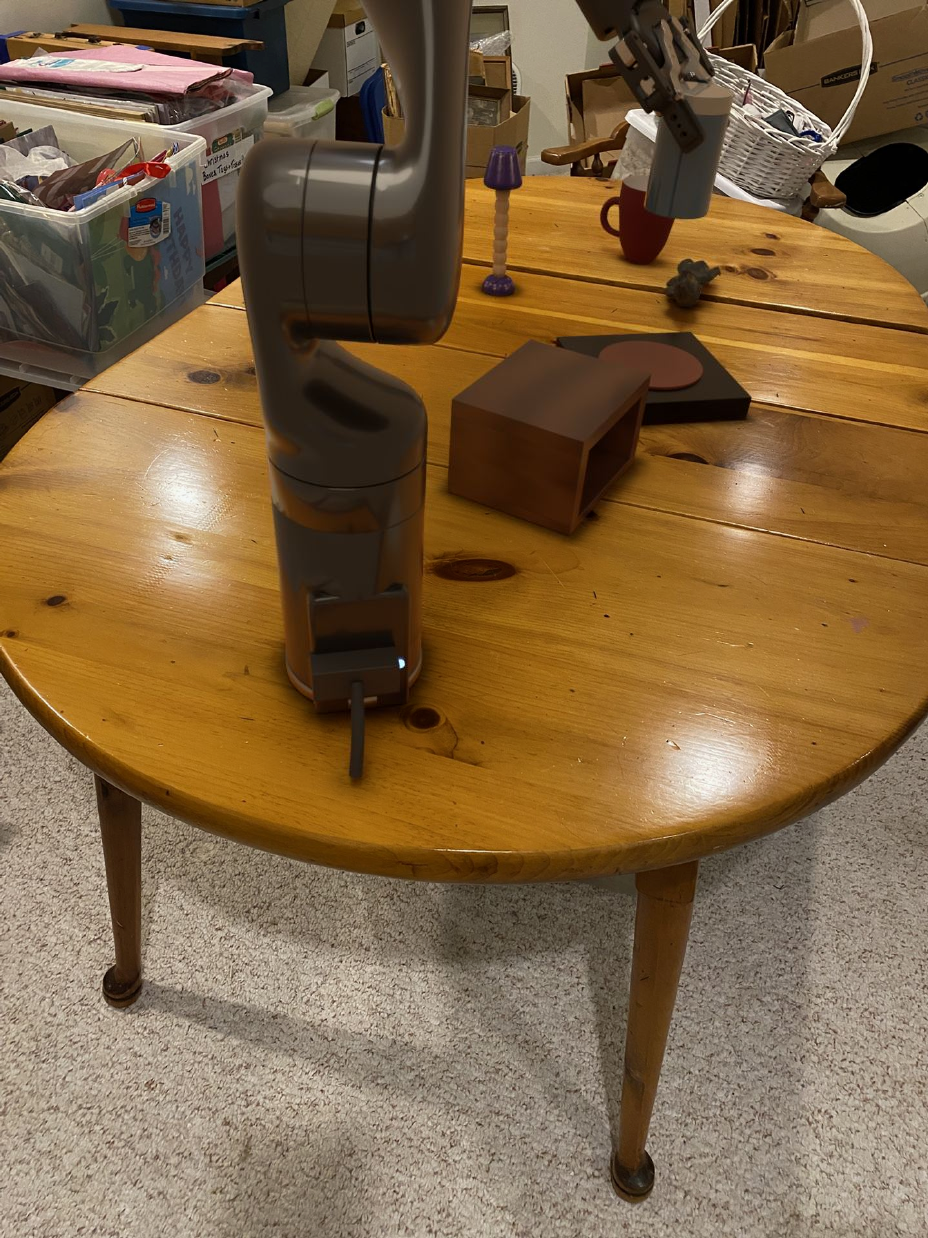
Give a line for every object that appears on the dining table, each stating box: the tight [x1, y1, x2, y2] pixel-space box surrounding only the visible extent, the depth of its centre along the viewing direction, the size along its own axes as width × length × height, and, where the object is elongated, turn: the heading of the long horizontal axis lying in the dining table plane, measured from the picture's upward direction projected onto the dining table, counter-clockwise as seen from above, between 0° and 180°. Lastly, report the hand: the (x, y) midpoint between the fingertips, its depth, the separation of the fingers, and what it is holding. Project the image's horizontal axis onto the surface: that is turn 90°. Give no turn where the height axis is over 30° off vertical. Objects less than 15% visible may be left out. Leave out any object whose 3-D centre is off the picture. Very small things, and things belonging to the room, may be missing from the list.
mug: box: [599, 174, 676, 265], centre depth 126 cm, size 11×8×10 cm
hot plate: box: [555, 331, 753, 426], centre depth 98 cm, size 16×16×3 cm
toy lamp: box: [481, 144, 523, 297], centre depth 112 cm, size 5×5×17 cm
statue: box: [664, 258, 722, 308], centre depth 116 cm, size 6×6×20 cm
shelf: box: [446, 339, 651, 537], centre depth 82 cm, size 12×14×9 cm
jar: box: [644, 82, 735, 221], centre depth 84 cm, size 6×6×10 cm
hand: (708, 139), depth 82 cm, fingers closed on jar, 6 cm apart
